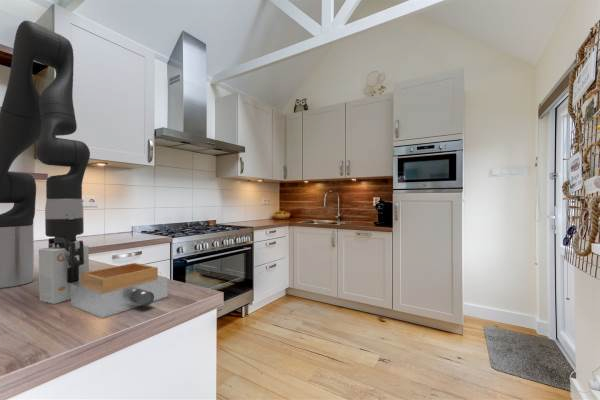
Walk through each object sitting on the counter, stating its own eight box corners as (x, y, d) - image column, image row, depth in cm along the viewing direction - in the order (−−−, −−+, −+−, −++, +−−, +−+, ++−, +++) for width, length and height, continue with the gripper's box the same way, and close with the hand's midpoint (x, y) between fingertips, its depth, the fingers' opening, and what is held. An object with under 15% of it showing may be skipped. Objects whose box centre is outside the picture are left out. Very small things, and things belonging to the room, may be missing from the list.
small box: (74, 291, 77) (74, 243, 77) (89, 294, 75) (89, 244, 75) (38, 301, 70) (37, 248, 70) (53, 304, 67) (53, 250, 67)
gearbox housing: (70, 304, 67) (70, 273, 67) (134, 287, 80) (134, 261, 80) (111, 322, 57) (111, 285, 57) (177, 299, 70) (177, 269, 70)
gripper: (35, 217, 73) (35, 280, 73) (58, 218, 65) (59, 288, 65) (70, 215, 79) (71, 273, 79) (95, 216, 72) (95, 280, 72)
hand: (65, 280), depth 72 cm, fingers open, 8 cm apart
